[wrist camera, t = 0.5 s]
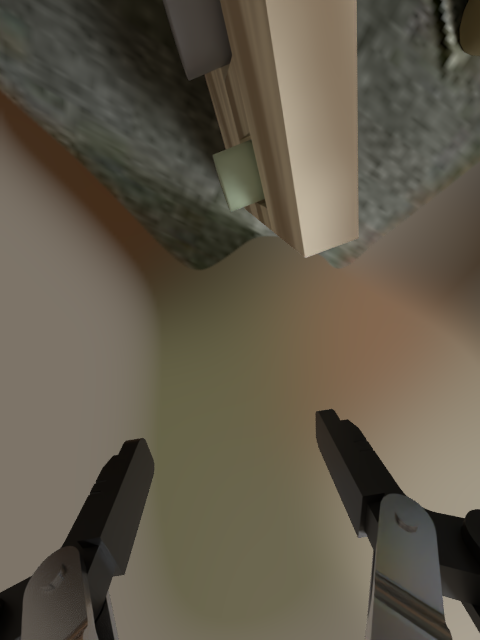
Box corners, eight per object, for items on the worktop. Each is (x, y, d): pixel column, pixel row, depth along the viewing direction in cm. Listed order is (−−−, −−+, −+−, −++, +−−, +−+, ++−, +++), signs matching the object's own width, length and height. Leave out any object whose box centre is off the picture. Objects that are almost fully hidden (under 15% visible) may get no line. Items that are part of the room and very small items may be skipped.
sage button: (228, 208, 20) (233, 215, 17) (211, 156, 18) (214, 152, 15) (270, 192, 20) (284, 196, 17) (258, 137, 18) (272, 129, 15)
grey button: (190, 89, 16) (187, 67, 12) (161, -1, 14) (149, -56, 10) (243, 66, 16) (255, 38, 12) (223, -28, 13) (231, -94, 10)
